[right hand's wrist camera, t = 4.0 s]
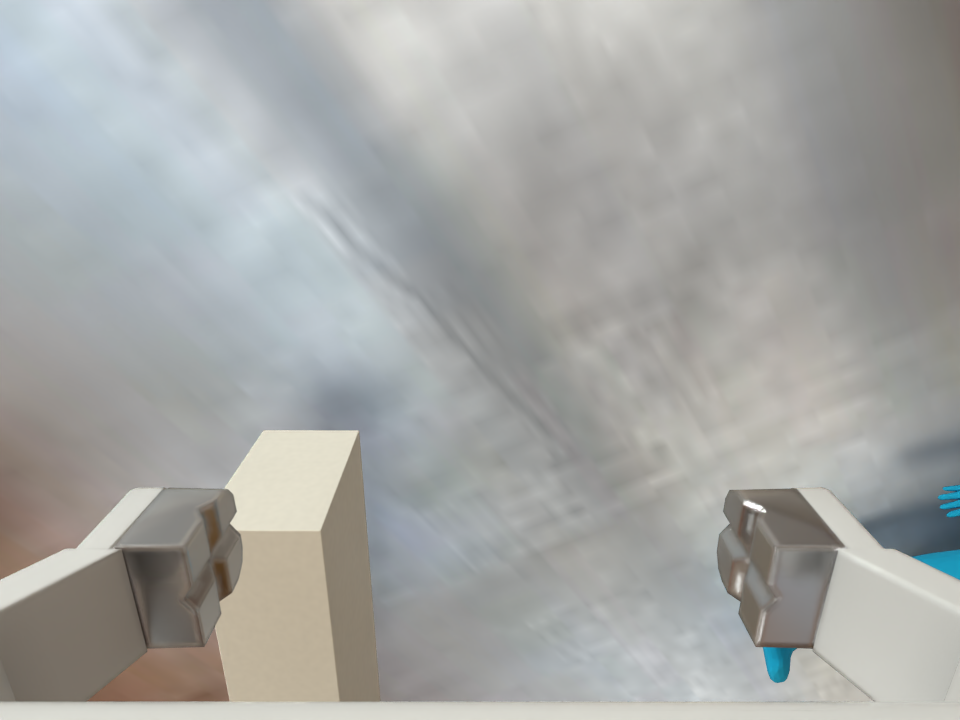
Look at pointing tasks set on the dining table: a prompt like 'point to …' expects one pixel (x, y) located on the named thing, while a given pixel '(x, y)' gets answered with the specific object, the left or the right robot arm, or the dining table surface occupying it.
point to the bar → (300, 574)
